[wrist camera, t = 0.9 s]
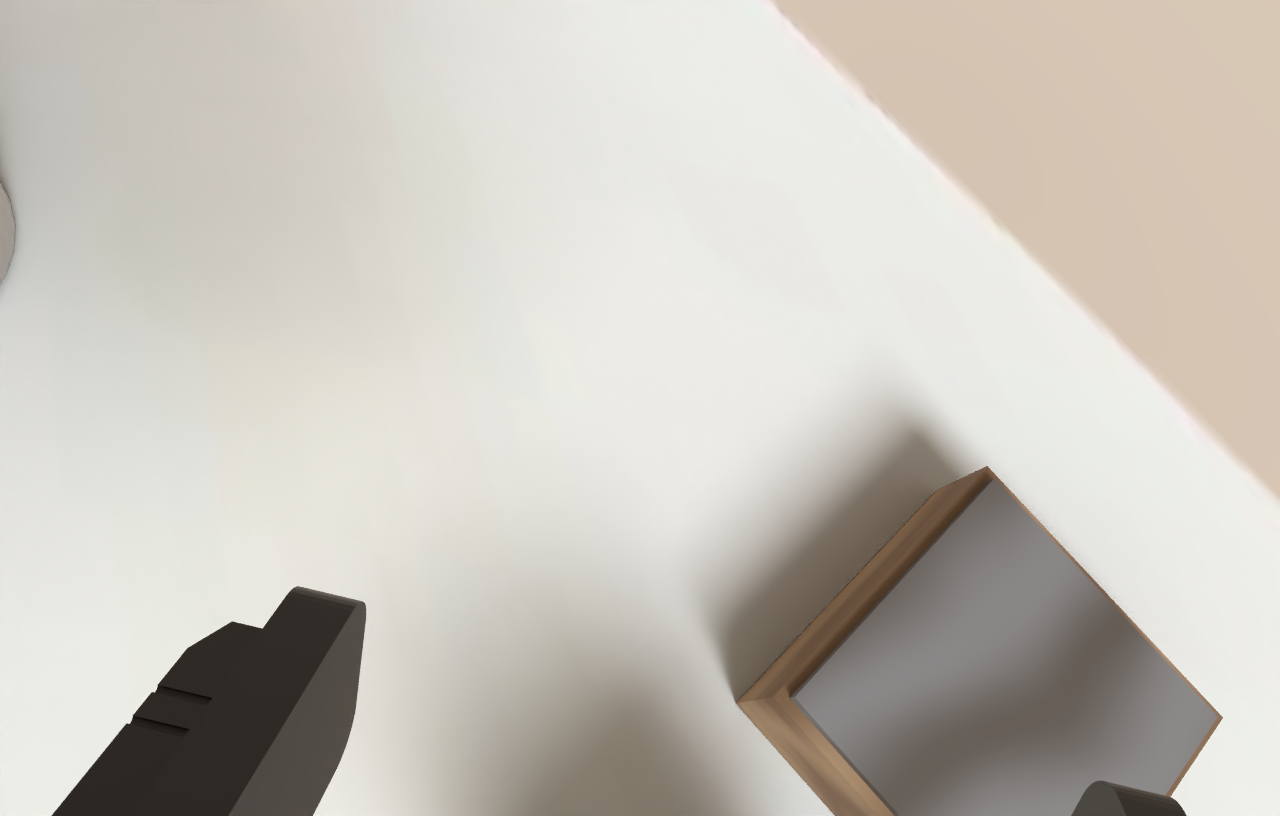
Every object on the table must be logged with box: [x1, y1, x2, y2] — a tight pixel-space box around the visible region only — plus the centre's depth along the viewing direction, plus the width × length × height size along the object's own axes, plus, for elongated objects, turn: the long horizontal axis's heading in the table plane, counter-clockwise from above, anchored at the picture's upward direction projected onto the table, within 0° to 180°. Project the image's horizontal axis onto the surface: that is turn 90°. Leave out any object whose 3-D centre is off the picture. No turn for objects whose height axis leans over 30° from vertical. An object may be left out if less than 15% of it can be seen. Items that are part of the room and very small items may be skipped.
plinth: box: [736, 466, 1223, 816], centre depth 35 cm, size 12×12×4 cm
